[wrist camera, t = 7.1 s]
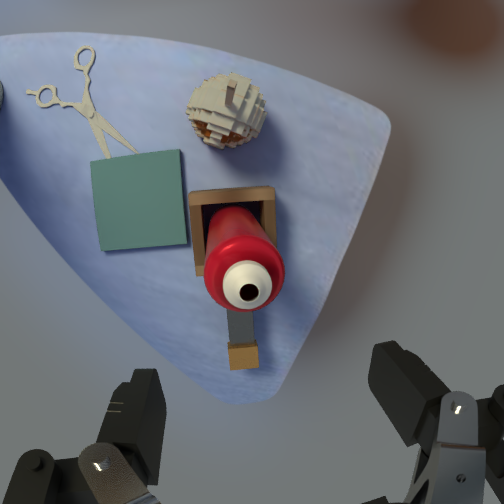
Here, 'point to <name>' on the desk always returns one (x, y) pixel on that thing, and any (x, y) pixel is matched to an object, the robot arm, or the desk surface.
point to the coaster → (139, 200)
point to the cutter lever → (242, 341)
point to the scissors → (85, 107)
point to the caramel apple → (226, 111)
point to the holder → (225, 196)
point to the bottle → (241, 261)
